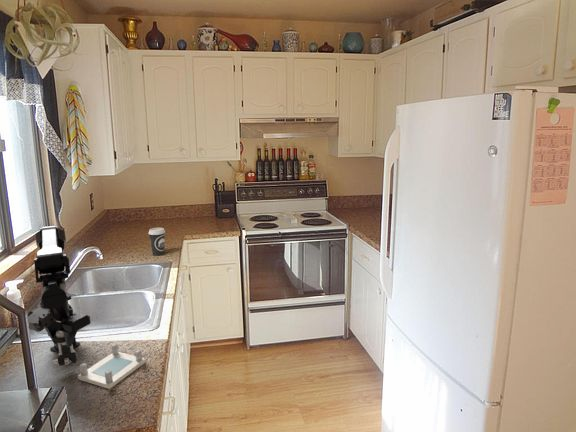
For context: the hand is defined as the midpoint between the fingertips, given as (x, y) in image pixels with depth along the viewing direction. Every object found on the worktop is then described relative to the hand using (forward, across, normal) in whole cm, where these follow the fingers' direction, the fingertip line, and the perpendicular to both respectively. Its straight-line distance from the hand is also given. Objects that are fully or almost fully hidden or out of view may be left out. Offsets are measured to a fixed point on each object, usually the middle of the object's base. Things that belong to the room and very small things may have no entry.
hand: (62, 344), depth 115 cm
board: (+9, +12, +6) cm, 16 cm away
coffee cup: (+9, -53, +103) cm, 116 cm away
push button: (+6, 0, 0) cm, 6 cm away
